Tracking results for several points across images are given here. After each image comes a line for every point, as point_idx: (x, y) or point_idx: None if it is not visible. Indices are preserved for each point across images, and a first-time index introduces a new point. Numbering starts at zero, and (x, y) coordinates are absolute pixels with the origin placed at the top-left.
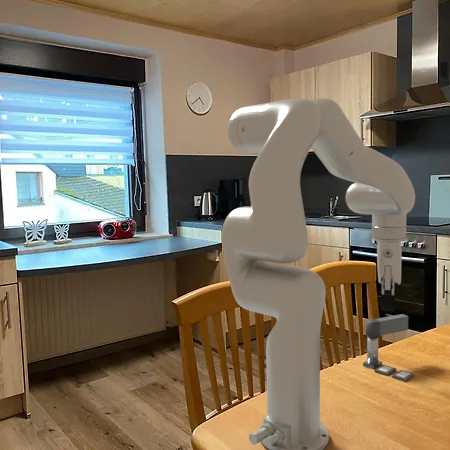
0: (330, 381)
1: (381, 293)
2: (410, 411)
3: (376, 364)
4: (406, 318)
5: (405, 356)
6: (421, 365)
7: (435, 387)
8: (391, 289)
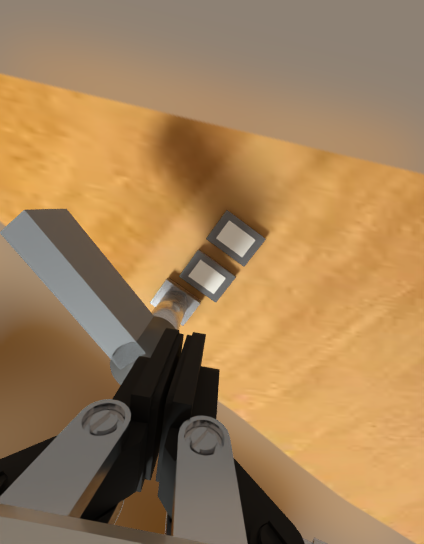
0: (276, 391)
1: (141, 486)
2: (415, 251)
3: (188, 296)
4: (38, 218)
5: (92, 208)
6: (147, 176)
7: (285, 167)
8: (292, 533)
